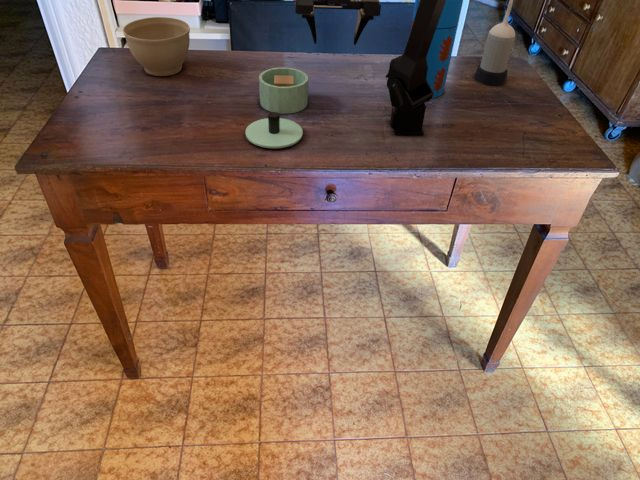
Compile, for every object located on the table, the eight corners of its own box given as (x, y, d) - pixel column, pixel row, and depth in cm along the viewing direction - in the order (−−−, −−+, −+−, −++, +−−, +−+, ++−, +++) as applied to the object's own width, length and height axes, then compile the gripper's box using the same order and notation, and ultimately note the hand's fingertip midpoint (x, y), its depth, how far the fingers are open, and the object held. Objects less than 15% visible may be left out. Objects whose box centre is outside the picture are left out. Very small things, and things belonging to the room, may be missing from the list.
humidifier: (502, 74, 140) (530, -24, 123) (507, 86, 134) (538, -15, 117) (472, 71, 140) (497, -27, 124) (476, 84, 134) (502, -18, 118)
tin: (306, 92, 126) (307, 67, 122) (308, 114, 118) (308, 88, 114) (261, 91, 126) (260, 66, 121) (259, 113, 117) (258, 87, 113)
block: (293, 97, 123) (293, 75, 120) (293, 105, 120) (293, 83, 116) (274, 96, 123) (274, 75, 119) (274, 105, 120) (274, 83, 116)
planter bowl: (120, 77, 129) (110, 34, 121) (150, 54, 140) (143, 14, 133) (178, 86, 126) (171, 42, 119) (204, 62, 138) (199, 21, 131)
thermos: (442, 82, 134) (463, -20, 118) (445, 99, 126) (469, -7, 110) (401, 78, 135) (416, -23, 118) (402, 96, 127) (419, -11, 110)
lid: (302, 122, 115) (302, 101, 111) (303, 151, 105) (303, 129, 102) (247, 121, 114) (246, 100, 111) (243, 150, 105) (242, 128, 101)
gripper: (378, -39, 113) (370, 32, 123) (295, -42, 112) (294, 30, 122) (385, -25, 105) (376, 49, 115) (295, -28, 104) (295, 47, 114)
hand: (335, 43), depth 117 cm, fingers open, 9 cm apart
